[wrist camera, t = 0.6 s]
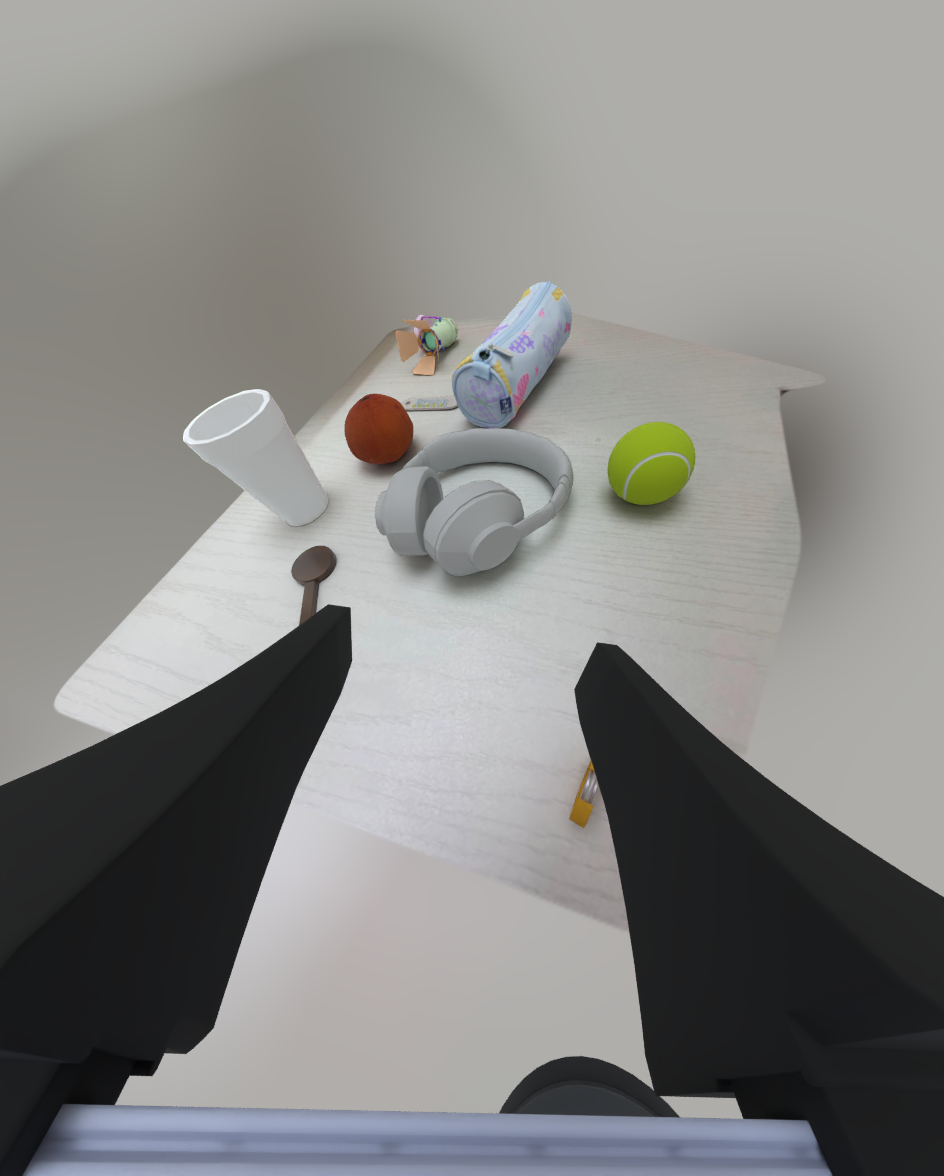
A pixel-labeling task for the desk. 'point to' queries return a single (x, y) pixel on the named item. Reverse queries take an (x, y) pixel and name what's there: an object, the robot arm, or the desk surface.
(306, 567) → the spoon
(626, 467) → the tennis ball
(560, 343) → the pencil case
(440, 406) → the keychain
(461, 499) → the headphones
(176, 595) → the desk surface
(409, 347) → the spotlight
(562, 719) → the desk surface
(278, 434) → the foam cup
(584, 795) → the tracker
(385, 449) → the fruit
